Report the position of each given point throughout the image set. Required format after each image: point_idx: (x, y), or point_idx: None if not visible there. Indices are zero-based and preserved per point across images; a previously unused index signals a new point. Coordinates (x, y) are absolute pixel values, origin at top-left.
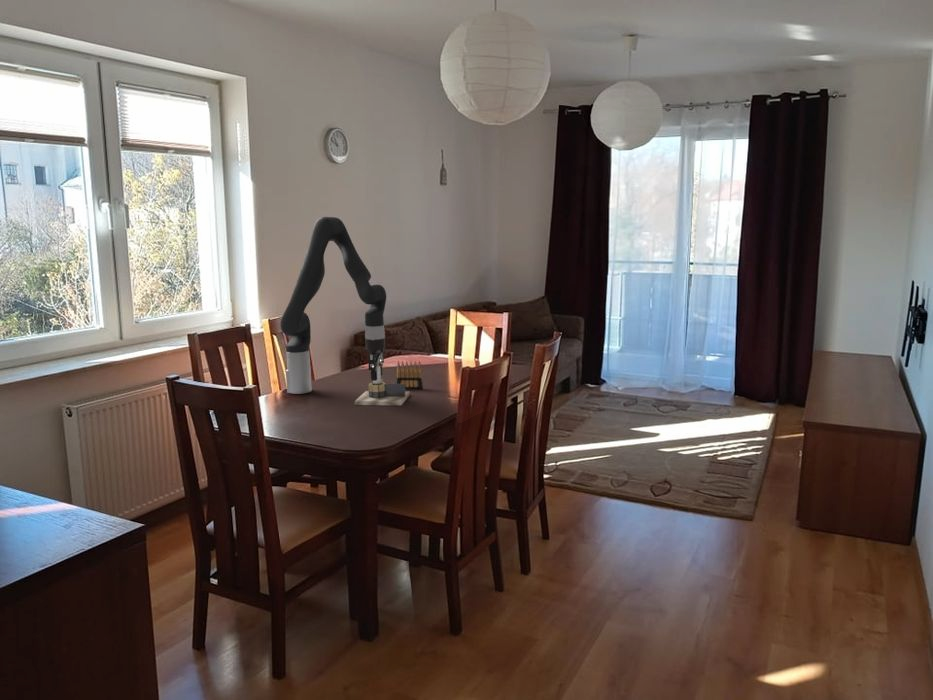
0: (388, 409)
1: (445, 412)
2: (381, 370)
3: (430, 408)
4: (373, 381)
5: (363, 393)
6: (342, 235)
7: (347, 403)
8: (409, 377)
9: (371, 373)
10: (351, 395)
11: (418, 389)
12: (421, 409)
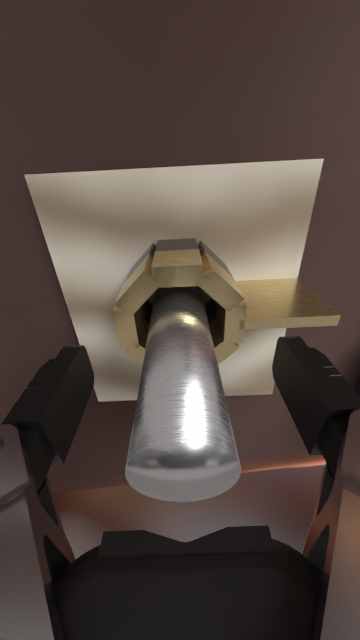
0: (32, 364)
1: (68, 485)
2: (289, 409)
3: (95, 458)
4: (159, 319)
5: (248, 165)
6: None
7: (56, 89)
8: None
9: (11, 410)
10: (308, 15)
11: (356, 391)
12: (75, 443)
